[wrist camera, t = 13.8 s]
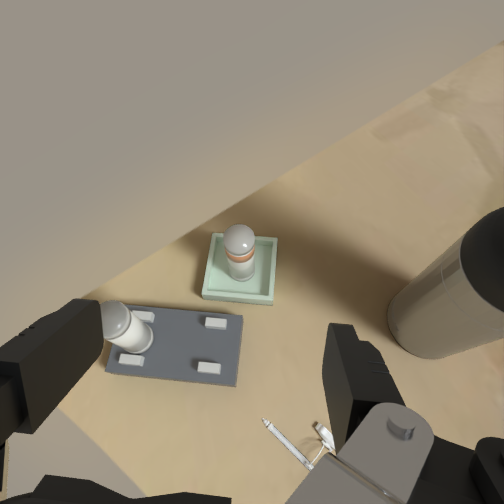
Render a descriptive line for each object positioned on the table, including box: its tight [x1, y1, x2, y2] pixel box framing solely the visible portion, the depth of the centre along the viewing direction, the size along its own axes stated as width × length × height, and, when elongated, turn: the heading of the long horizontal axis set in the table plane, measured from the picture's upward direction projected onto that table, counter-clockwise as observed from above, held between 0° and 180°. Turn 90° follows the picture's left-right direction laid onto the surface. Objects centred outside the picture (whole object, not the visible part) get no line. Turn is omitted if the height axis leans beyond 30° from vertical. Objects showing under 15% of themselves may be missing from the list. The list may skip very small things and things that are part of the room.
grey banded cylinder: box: [223, 224, 255, 282], centre depth 41 cm, size 4×4×9 cm
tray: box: [202, 233, 278, 306], centre depth 45 cm, size 9×9×2 cm
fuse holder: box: [105, 305, 243, 387], centre depth 40 cm, size 15×8×4 cm, turn 84°
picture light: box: [262, 418, 335, 471], centre depth 35 cm, size 14×4×2 cm, turn 48°
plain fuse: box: [100, 300, 154, 354], centre depth 35 cm, size 4×4×9 cm
